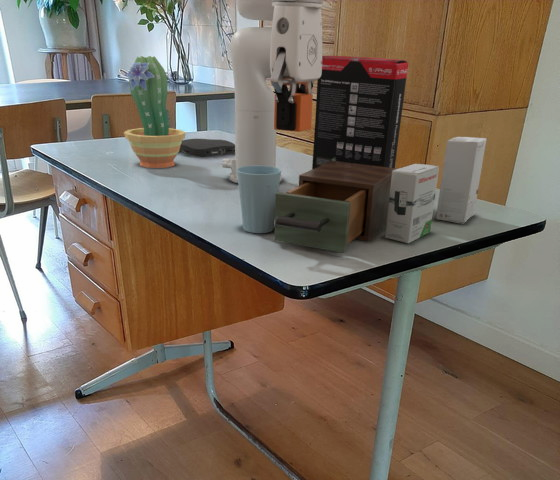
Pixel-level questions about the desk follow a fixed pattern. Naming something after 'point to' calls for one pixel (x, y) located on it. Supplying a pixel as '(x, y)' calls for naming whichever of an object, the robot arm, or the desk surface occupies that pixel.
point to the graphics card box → (359, 110)
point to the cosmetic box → (460, 179)
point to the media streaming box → (206, 147)
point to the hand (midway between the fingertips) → (293, 126)
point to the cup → (258, 196)
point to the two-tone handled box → (320, 215)
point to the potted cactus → (152, 115)
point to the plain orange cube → (300, 112)
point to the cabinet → (359, 177)
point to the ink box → (411, 202)
